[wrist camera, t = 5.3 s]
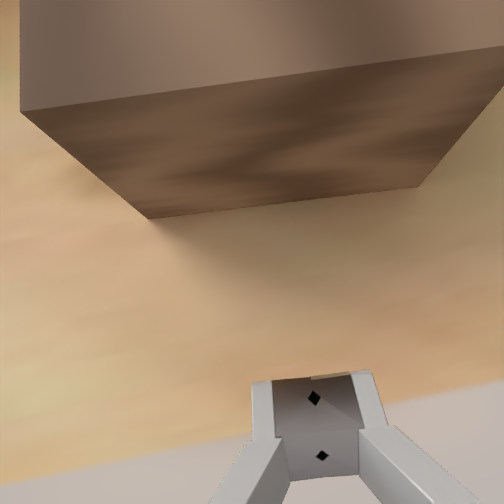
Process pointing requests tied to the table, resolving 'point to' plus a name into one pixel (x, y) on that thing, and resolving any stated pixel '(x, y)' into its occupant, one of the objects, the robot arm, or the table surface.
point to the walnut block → (257, 93)
